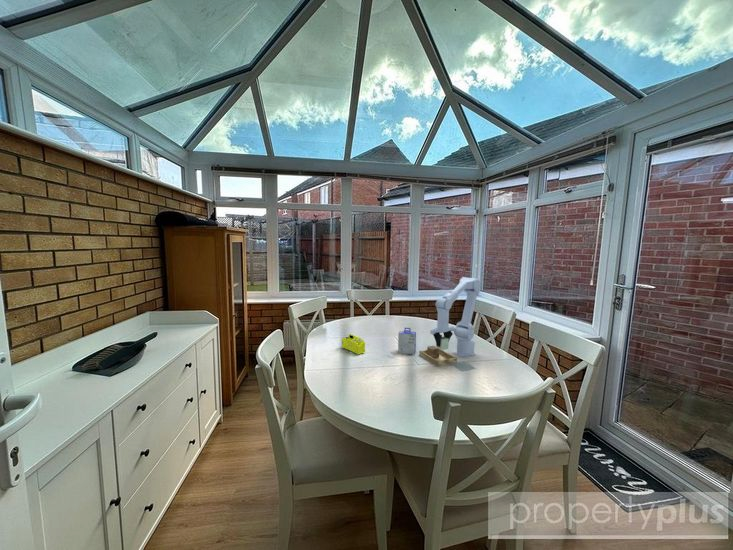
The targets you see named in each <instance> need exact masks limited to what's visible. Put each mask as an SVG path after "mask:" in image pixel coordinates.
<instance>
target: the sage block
mask: <svg viewBox="0 0 733 550" xmlns="http://www.w3.org/2000/svg"><path fill="white" fill-rule="evenodd" d="M449 343H450V340H449V339H448V338H446V337H444V335H442V337H441V344H440V347H438V346H437V345H436V344H435V346H436V347H437V348H438V349H440V350H443V351H445V350H448V349H449Z"/></svg>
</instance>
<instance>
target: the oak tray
mask: <svg viewBox="0 0 733 550" xmlns="http://www.w3.org/2000/svg"><path fill="white" fill-rule="evenodd" d="M418 353H419V354H418V355H419V356H420V357H421V358H424V359H425V360H427V361H428V362H429V363H431V364H432V365H434V366H436V367H441V366H446V365H450V364H455V363H458V357H456V356H454V355H452V354H450V353H449V352H447V351H445V350H440V349H439V357H437V358H432V357H430V356H429V355H427V349H423V350H419V352H418Z"/></svg>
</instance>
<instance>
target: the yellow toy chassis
mask: <svg viewBox="0 0 733 550" xmlns="http://www.w3.org/2000/svg"><path fill="white" fill-rule="evenodd" d="M341 348H343V349H346V350H347V351H350V352H351V353H352V352H353V353H355V354H356V355H361V354H363V353H366V342H365V340H364V339H363V338H362V337H359V336H357V335H354V334H351V333H349V334H348V335H347V337H346V336H345V337H342V339H341Z"/></svg>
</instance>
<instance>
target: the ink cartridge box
mask: <svg viewBox="0 0 733 550" xmlns="http://www.w3.org/2000/svg"><path fill="white" fill-rule="evenodd" d="M411 330H412V329H411V327H404V329H403V330H399V332H398V336H397V340H398V341H397V353H398V354H399V353H400V354H405V355H406V354H407V355H409V354H410V355H415V354H416V351H417V349H416V348H417V332H416V331H411Z"/></svg>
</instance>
